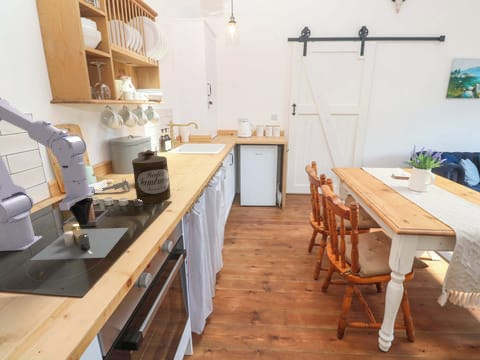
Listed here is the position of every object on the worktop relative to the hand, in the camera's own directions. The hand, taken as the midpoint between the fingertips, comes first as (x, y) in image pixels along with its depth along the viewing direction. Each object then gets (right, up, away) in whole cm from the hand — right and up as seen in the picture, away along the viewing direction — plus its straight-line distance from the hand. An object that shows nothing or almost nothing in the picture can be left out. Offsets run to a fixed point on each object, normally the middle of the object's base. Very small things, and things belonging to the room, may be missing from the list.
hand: (83, 223), depth 78 cm
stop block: (-9, -2, +19) cm, 21 cm away
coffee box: (-5, +13, +72) cm, 73 cm away
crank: (-3, -6, +3) cm, 7 cm away
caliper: (-19, +6, +52) cm, 56 cm away
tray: (-10, -3, +19) cm, 21 cm away
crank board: (-1, -7, +3) cm, 8 cm away
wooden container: (+6, +5, +44) cm, 44 cm away
